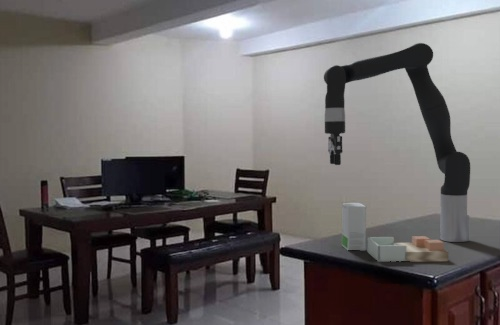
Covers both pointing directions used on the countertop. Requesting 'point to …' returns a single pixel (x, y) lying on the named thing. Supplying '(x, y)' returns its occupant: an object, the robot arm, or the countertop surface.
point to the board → (423, 254)
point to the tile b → (434, 245)
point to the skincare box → (353, 226)
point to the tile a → (419, 240)
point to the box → (386, 249)
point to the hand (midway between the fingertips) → (335, 164)
